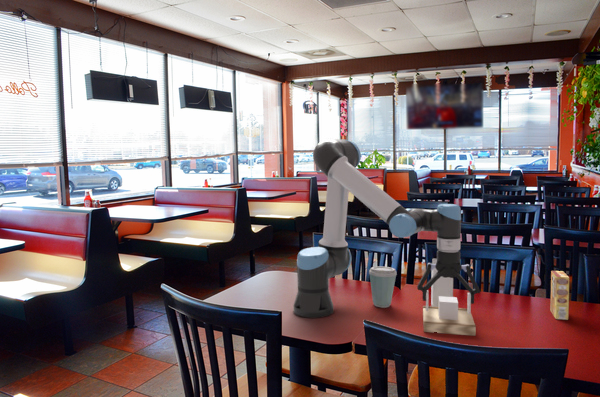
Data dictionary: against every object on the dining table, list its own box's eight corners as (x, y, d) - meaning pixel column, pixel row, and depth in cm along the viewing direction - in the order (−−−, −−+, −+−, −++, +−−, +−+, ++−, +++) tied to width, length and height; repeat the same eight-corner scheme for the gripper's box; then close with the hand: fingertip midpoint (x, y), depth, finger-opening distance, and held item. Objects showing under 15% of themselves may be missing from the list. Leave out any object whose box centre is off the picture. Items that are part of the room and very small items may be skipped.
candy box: (568, 320, 155) (570, 277, 154) (555, 319, 157) (556, 276, 155) (562, 312, 164) (563, 270, 162) (549, 311, 165) (550, 270, 164)
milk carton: (452, 311, 166) (453, 261, 164) (432, 310, 167) (433, 260, 166) (450, 305, 173) (450, 257, 171) (431, 304, 174) (431, 256, 172)
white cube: (439, 318, 151) (439, 301, 150) (438, 312, 157) (438, 296, 156) (458, 320, 149) (458, 302, 149) (456, 314, 155) (456, 297, 155)
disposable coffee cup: (369, 300, 181) (369, 263, 179) (396, 301, 179) (396, 264, 177) (368, 309, 170) (368, 270, 169) (396, 310, 168) (397, 271, 167)
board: (423, 331, 148) (423, 321, 147) (422, 314, 163) (423, 305, 163) (475, 335, 144) (475, 325, 143) (469, 318, 159) (469, 308, 159)
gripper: (410, 251, 150) (410, 312, 152) (490, 253, 144) (488, 317, 146) (410, 246, 158) (410, 305, 160) (486, 249, 152) (485, 310, 154)
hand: (447, 311), depth 153 cm, fingers open, 13 cm apart
